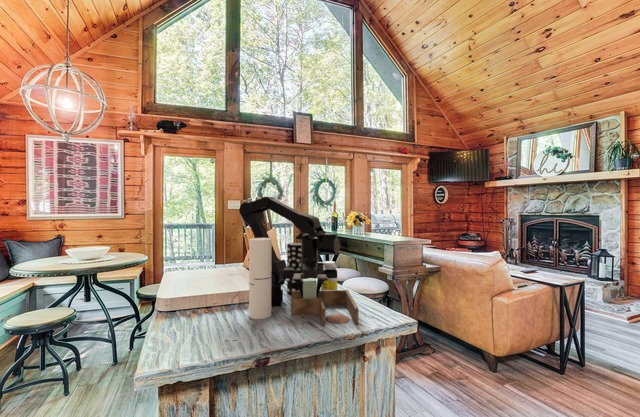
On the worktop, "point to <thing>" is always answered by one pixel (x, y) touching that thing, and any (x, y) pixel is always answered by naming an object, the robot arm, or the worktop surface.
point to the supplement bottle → (330, 282)
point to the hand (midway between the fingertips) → (309, 297)
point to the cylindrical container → (260, 278)
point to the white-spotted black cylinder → (293, 264)
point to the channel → (318, 305)
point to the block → (309, 288)
